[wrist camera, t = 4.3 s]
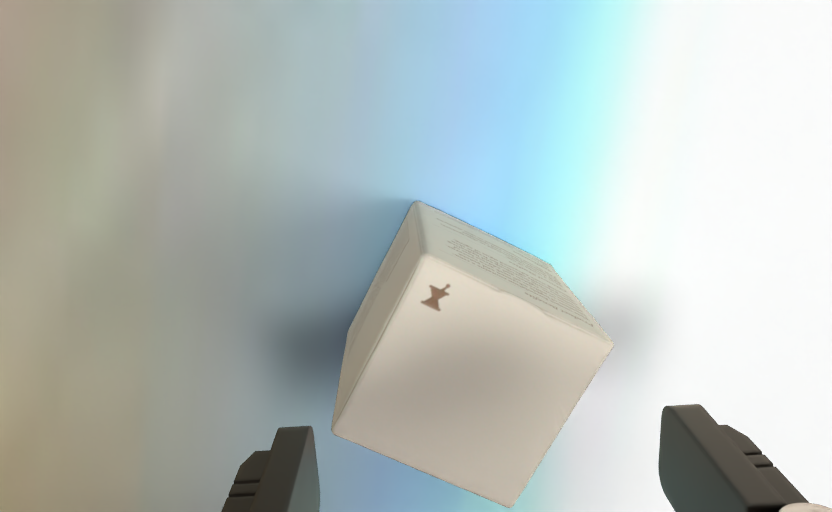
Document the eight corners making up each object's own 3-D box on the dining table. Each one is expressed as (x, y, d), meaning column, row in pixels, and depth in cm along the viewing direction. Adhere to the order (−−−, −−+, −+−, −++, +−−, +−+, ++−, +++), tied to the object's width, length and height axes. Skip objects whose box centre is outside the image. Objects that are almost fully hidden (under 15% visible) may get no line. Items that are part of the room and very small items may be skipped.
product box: (343, 332, 25) (322, 434, 18) (414, 194, 24) (421, 246, 17) (481, 394, 26) (512, 515, 19) (557, 265, 24) (622, 344, 17)
